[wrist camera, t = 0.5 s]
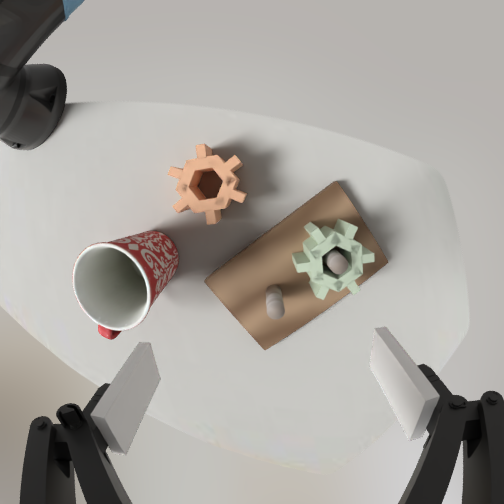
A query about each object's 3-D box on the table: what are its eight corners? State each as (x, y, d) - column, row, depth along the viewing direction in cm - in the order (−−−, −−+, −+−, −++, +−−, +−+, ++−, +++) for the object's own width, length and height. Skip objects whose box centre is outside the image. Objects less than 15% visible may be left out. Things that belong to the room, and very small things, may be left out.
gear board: (206, 278, 38) (194, 299, 31) (333, 181, 35) (352, 180, 28) (264, 345, 40) (265, 375, 33) (384, 259, 37) (408, 275, 30)
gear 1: (169, 202, 36) (156, 204, 31) (192, 142, 34) (182, 136, 29) (233, 227, 37) (229, 233, 32) (258, 166, 35) (258, 163, 30)
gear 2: (279, 244, 35) (283, 253, 31) (333, 204, 34) (344, 207, 29) (320, 297, 37) (328, 313, 32) (369, 260, 36) (384, 271, 31)
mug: (138, 212, 36) (83, 226, 23) (196, 241, 37) (163, 271, 24) (111, 289, 39) (61, 328, 26) (162, 317, 40) (127, 370, 27)
